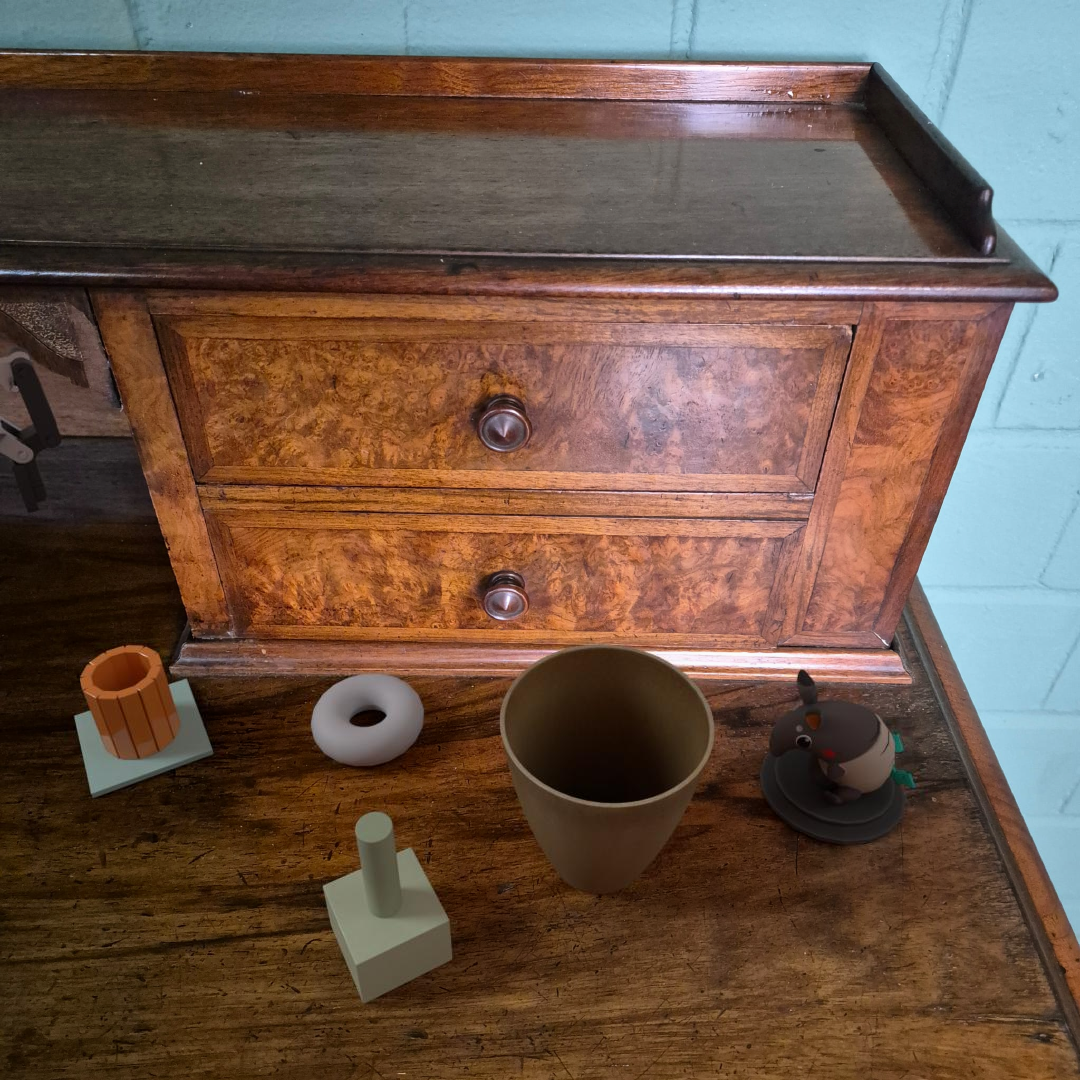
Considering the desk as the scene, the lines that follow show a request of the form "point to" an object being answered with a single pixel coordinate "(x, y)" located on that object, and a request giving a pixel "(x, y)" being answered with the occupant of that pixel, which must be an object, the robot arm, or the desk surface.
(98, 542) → the desk surface
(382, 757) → the donut
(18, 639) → the desk surface
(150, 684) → the pen holder
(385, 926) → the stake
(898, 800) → the figurine
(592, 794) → the plant pot
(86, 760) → the mat
